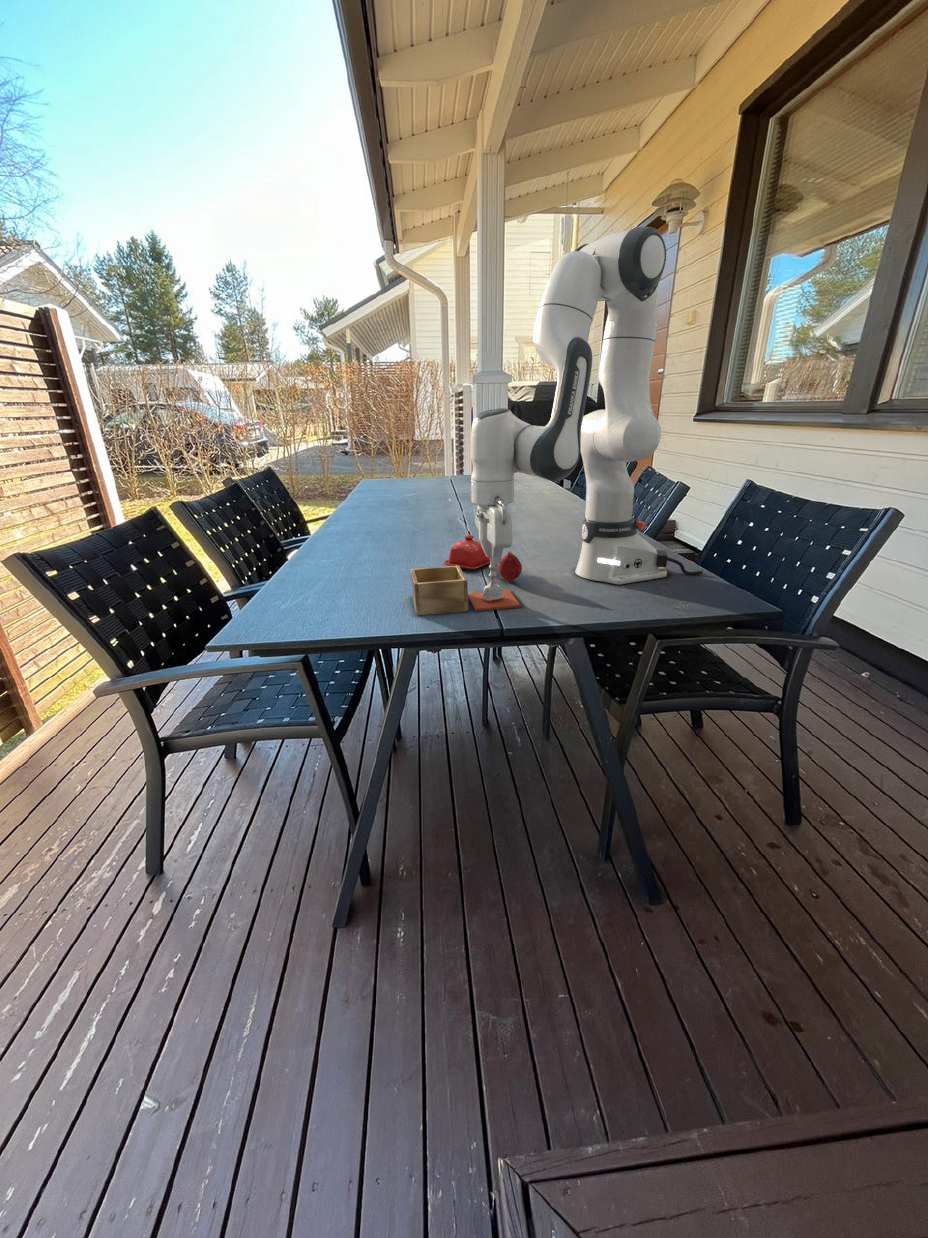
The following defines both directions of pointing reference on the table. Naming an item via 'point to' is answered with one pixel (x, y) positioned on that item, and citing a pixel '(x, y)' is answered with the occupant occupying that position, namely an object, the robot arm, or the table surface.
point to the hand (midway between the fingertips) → (492, 558)
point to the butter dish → (467, 554)
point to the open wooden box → (439, 590)
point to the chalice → (492, 589)
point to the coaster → (493, 601)
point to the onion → (509, 567)
